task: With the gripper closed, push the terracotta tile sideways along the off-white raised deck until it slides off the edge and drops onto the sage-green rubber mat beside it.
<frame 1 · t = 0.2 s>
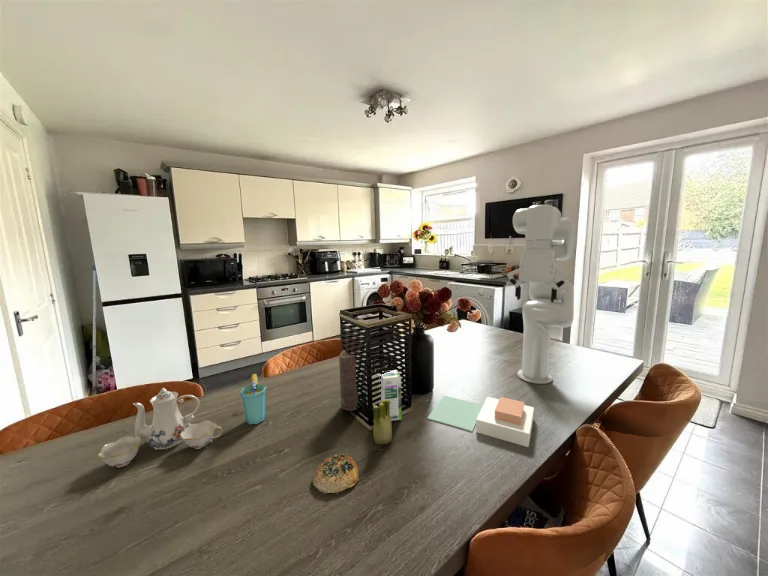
hand: (535, 300, 97), 36 cm above the table, tool pointing down, fingers open, 9 cm apart
deck: (505, 425, 92), on the table
bread roll: (336, 479, 73), on the table
mat: (456, 412, 100), on the table
chinaware: (167, 448, 85), on the table
cup: (256, 422, 97), on the table
fennel bulb: (382, 441, 86), on the table
tile: (509, 414, 91), point 4 cm above the table, touching deck
syrup box: (390, 416, 98), on the table
candle: (351, 408, 104), on the table
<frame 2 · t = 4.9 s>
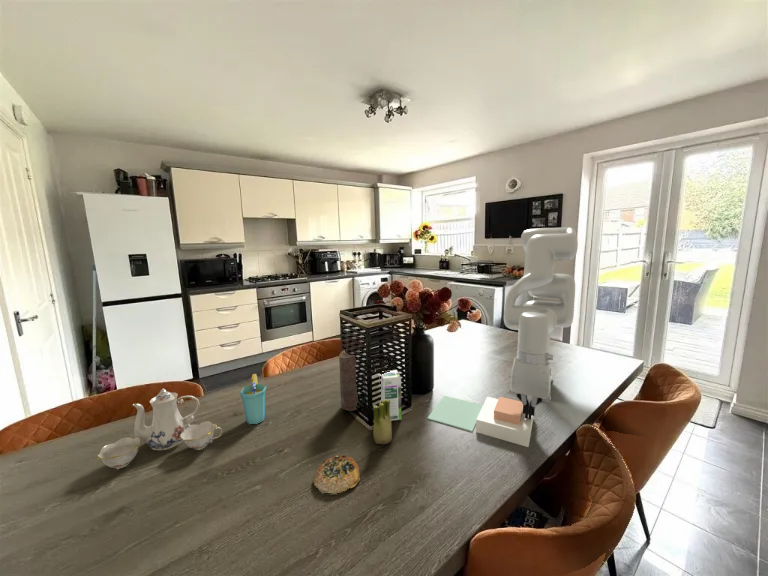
hand: (528, 416, 88), 5 cm above the table, tool pointing down, fingers closed
tile: (508, 413, 91), point 4 cm above the table, touching gripper
everything else where it was.
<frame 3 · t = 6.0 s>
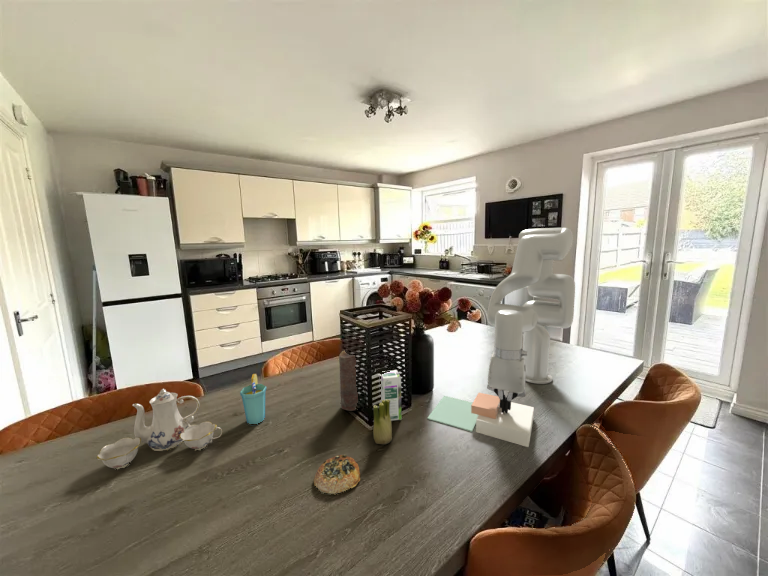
hand: (505, 410, 92), 5 cm above the table, tool pointing down, fingers closed
tile: (486, 408, 94), point 4 cm above the table, touching deck, gripper
everything else where it was.
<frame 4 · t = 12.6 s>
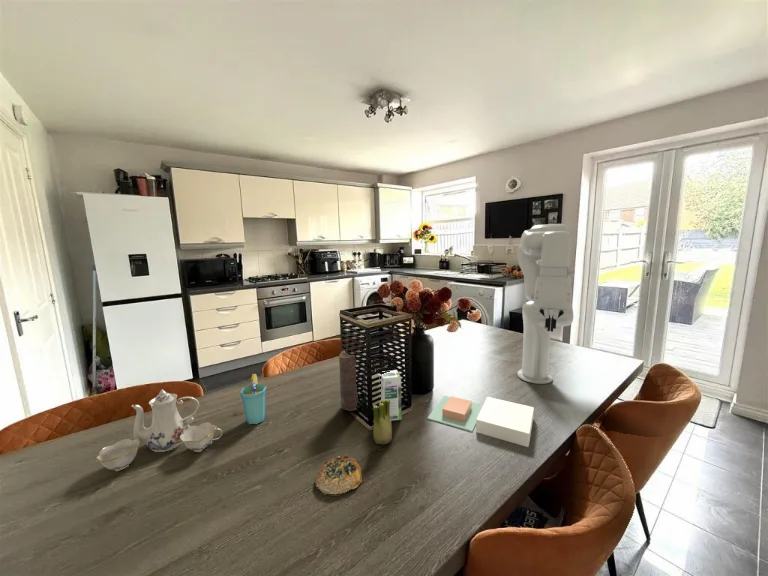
hand: (550, 330, 96), 27 cm above the table, tool pointing down, fingers closed
tile: (457, 404, 99), point 3 cm above the table, tilted 180°, touching mat
at the end: tile inside the target area (0.4 cm from its centre), point 2.9 cm above the table; tile touching mat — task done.
